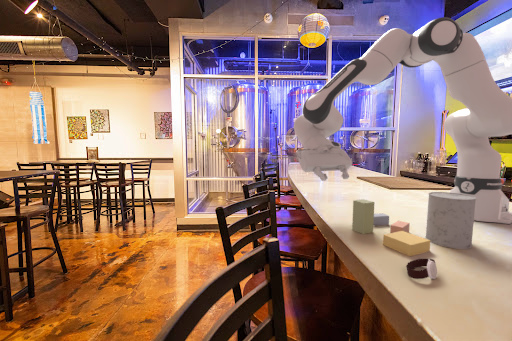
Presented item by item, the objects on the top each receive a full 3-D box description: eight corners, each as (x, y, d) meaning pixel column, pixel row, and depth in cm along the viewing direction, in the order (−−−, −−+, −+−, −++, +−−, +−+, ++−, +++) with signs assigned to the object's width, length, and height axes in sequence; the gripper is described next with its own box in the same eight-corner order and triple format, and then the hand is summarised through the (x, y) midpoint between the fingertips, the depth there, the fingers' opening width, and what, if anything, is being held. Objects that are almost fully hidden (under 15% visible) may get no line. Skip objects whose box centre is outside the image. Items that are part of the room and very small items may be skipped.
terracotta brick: (397, 230, 71) (398, 220, 71) (408, 233, 69) (409, 223, 69) (390, 235, 67) (390, 225, 67) (401, 238, 65) (402, 227, 65)
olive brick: (361, 227, 73) (363, 199, 72) (373, 232, 69) (374, 201, 68) (352, 229, 71) (353, 200, 70) (363, 234, 67) (364, 203, 67)
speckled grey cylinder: (482, 250, 57) (486, 200, 55) (437, 247, 59) (440, 198, 57) (456, 236, 66) (460, 192, 65) (418, 233, 68) (421, 191, 67)
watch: (427, 287, 42) (429, 267, 42) (399, 275, 46) (400, 257, 46) (442, 273, 47) (443, 256, 47) (415, 264, 51) (416, 247, 50)
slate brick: (382, 222, 79) (382, 213, 79) (388, 224, 76) (389, 215, 76) (366, 223, 78) (366, 214, 78) (371, 226, 75) (372, 216, 75)
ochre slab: (401, 241, 63) (402, 230, 63) (429, 252, 56) (430, 240, 56) (383, 245, 60) (383, 234, 60) (410, 257, 54) (410, 245, 54)
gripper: (297, 143, 81) (315, 174, 73) (343, 143, 89) (363, 171, 81) (290, 155, 85) (306, 186, 77) (334, 154, 93) (352, 182, 86)
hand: (336, 178), depth 79 cm, fingers open, 8 cm apart
